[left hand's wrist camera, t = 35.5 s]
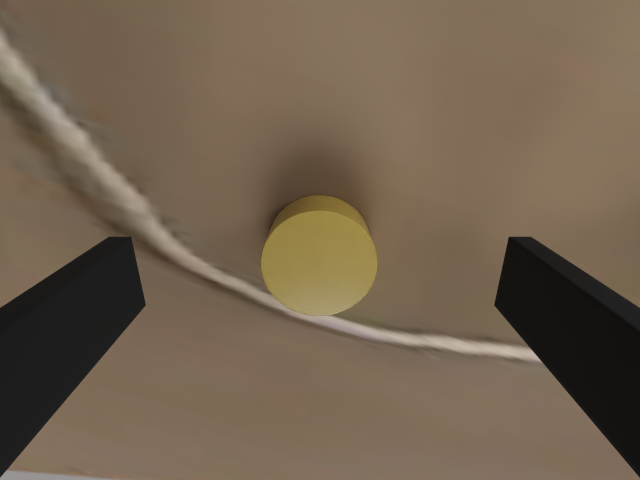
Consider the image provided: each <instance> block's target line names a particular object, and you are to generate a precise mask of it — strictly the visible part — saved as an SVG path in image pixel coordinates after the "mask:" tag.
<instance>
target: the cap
mask: <svg viewBox="0 0 640 480" xmlns="http://www.w3.org/2000/svg"><path fill="white" fill-rule="evenodd" d="M261 271H262V276H263V279H264V282H265V284H266V286H267V288H268V289H269V291H270V292H271V294H272V295H273V296H274V297H275V298H276V299H277V300H278V301H279V302H280V303H282V304H283V305H285V306H286V307H288V308H290V309H292V310H293V311H296V312H299V313H302V314H306V315H313V316H325V315H332V314H336V313H339V312H342V311H345V310H347V309H349V308H351V307H352V306H354V305H355V304H357V303H358V302H359V301H360V300H361V299H362V298H363V297H364V296H365V295H366V294H367V292H368V291H369V290H370V288H371V286H372V284H373V282H374V279H375V277H376V272H377V254H376V249H375V247H374V244H373V241H372V238H371V236H370V233H369V230H368V228H367V225H366V223H365V221H364V219H363V218H362V216H361V215H360V214H359V212H358V211H357V210H356V209H355V208H353V207H352V206H351V205H350V204H348V203H346V202H345V201H343V200H340V199H338V198H335V197H331V196H325V195H314V196H307V197H303V198H301V199H298V200H296V201H294V202H292V203H290V204H289V205H287V206H286V207H285V208H284V209H283V210H282V211H281V212H280V213H279V214H278V215H277V217H276V218H275V220H274V222H273V224H272V226H271V229H270V231H269V234H268V236H267V239H266V241H265V244H264V247H263V250H262V254H261Z"/></svg>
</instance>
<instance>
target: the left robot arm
mask: <svg viewBox="0 0 640 480" xmlns="http://www.w3.org/2000/svg"><path fill="white" fill-rule="evenodd" d="M145 305H146V304H145V300H144V295H143V290H142V286H141V281H140V276H139V272H138V267H137V262H136V258H135V253H134V248H133V244H132V239H131V237H108V238H106V239H105V240H103V241H102V242H100V243H99V244H97V245H96V246H94V247H93V248H91V249H90V250H88V251H87V252H85V253H84V254H82V255H80V256H79V257H77V258H76V259H74V260H73V261H71V262H70V263H68V264H67V265H65V266H64V267H62V268H61V269H59V270H58V271H56V272H55V273H53V274H51V275H50V276H48V277H47V278H45V279H44V280H42V281H41V282H39V283H38V284H36V285H35V286H33V287H32V288H30V289H29V290H27V291H25V292H24V293H22V294H21V295H19V296H18V297H16V298H15V299H13V300H12V301H10V302H9V303H7V304H6V305H4V306H3V307H1V308H0V477H1V476H2V475H3V474H4V472H5V471H6V470H7V469H8V468H9V466H10V465H11V464H12V463H13V462H14V461H15V459H16V458H17V457H18V456H19V455H20V453H21V452H22V451H23V450H24V449H25V448H26V446H27V445H28V444H29V443H30V442H31V440H32V439H33V438H34V437H35V436H36V434H37V433H38V432H39V431H40V430H41V429H42V427H43V426H44V425H45V424H46V423H47V421H48V420H49V419H50V418H51V417H52V416H53V414H54V413H55V412H56V411H57V410H58V408H59V407H60V406H61V405H62V404H63V403H64V401H65V400H66V399H67V398H68V397H69V395H70V394H71V393H72V392H73V391H74V390H75V388H76V387H77V386H78V385H79V384H80V382H81V381H82V380H83V379H84V378H85V376H86V375H87V374H88V373H89V372H90V371H91V369H92V368H93V367H94V366H95V365H96V363H97V362H98V361H99V360H100V359H101V358H102V356H103V355H104V354H105V353H106V352H107V350H108V349H109V348H110V347H111V346H112V345H113V343H114V342H115V341H116V340H117V339H118V337H119V336H120V335H121V334H122V333H123V331H124V330H125V329H126V328H127V327H128V326H129V324H130V323H131V322H132V321H133V320H134V318H135V317H136V316H137V315H138V314H139V313H140V311H141V310H142V309H143V308H144V307H145ZM494 305H495V307H496V308H497V309H498V310H499V311H500V313H501V314H502V315H503V316H504V317H505V318H506V320H507V321H508V322H509V323H510V324H511V326H512V327H513V328H514V329H515V330H516V331H517V333H518V334H519V335H520V336H521V337H522V339H523V340H524V341H525V342H526V343H527V345H528V346H529V347H530V348H531V349H532V350H533V352H534V353H535V354H536V355H537V356H538V358H539V359H540V360H541V361H542V362H543V363H544V365H545V366H546V367H547V368H548V369H549V371H550V372H551V373H552V374H553V375H554V376H555V378H556V379H557V380H558V381H559V382H560V384H561V385H562V386H563V387H564V388H565V390H566V391H567V392H568V393H569V394H570V395H571V397H572V398H573V399H574V400H575V401H576V403H577V404H578V405H579V406H580V407H581V408H582V410H583V411H584V412H585V413H586V414H587V416H588V417H589V418H590V419H591V420H592V421H593V423H594V424H595V425H596V426H597V427H598V429H599V430H600V431H601V432H602V433H603V434H604V436H605V437H606V438H607V439H608V440H609V442H610V443H611V444H612V445H613V446H614V448H615V449H616V450H617V451H618V452H619V453H620V455H621V456H622V457H623V458H624V459H625V461H626V462H627V463H628V464H629V465H630V466H631V468H632V469H633V470H634V471H635V472H636V474H637V475H638V476H639V477H640V308H639V307H637V306H636V305H634V304H633V303H631V302H630V301H628V300H627V299H625V298H624V297H622V296H621V295H619V294H618V293H616V292H615V291H613V290H611V289H610V288H608V287H607V286H605V285H604V284H602V283H601V282H599V281H598V280H596V279H595V278H593V277H592V276H590V275H589V274H587V273H585V272H584V271H582V270H581V269H579V268H578V267H576V266H575V265H573V264H572V263H570V262H569V261H567V260H566V259H564V258H563V257H561V256H560V255H558V254H556V253H555V252H553V251H552V250H550V249H549V248H547V247H546V246H544V245H543V244H541V243H540V242H538V241H537V240H535V239H534V238H532V237H509V239H508V244H507V248H506V253H505V258H504V262H503V267H502V272H501V276H500V281H499V286H498V290H497V295H496V300H495V304H494Z"/></svg>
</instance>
